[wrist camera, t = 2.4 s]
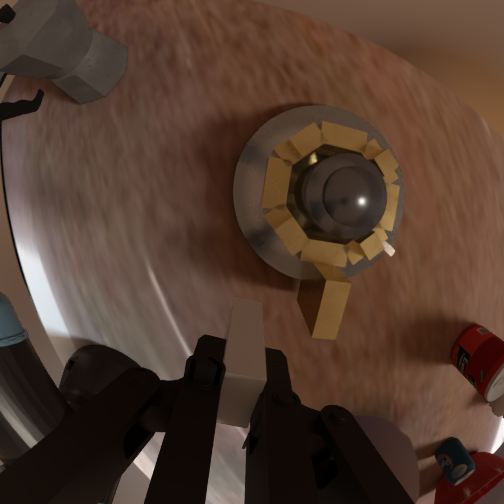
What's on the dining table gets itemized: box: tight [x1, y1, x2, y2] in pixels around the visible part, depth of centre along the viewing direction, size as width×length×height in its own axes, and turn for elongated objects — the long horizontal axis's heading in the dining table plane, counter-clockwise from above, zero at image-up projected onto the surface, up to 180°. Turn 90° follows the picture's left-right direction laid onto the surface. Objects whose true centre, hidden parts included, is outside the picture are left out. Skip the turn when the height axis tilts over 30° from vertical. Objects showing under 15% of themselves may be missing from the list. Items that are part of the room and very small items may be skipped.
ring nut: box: [260, 121, 400, 340], centre depth 22 cm, size 12×17×8 cm
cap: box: [233, 105, 404, 280], centre depth 23 cm, size 18×18×9 cm
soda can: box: [435, 438, 476, 486], centre depth 33 cm, size 7×7×12 cm
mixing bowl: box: [434, 452, 504, 504], centre depth 37 cm, size 28×28×15 cm
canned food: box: [451, 325, 504, 402], centre depth 27 cm, size 8×8×11 cm
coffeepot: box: [0, 0, 127, 121], centre depth 15 cm, size 15×9×18 cm, turn 161°
